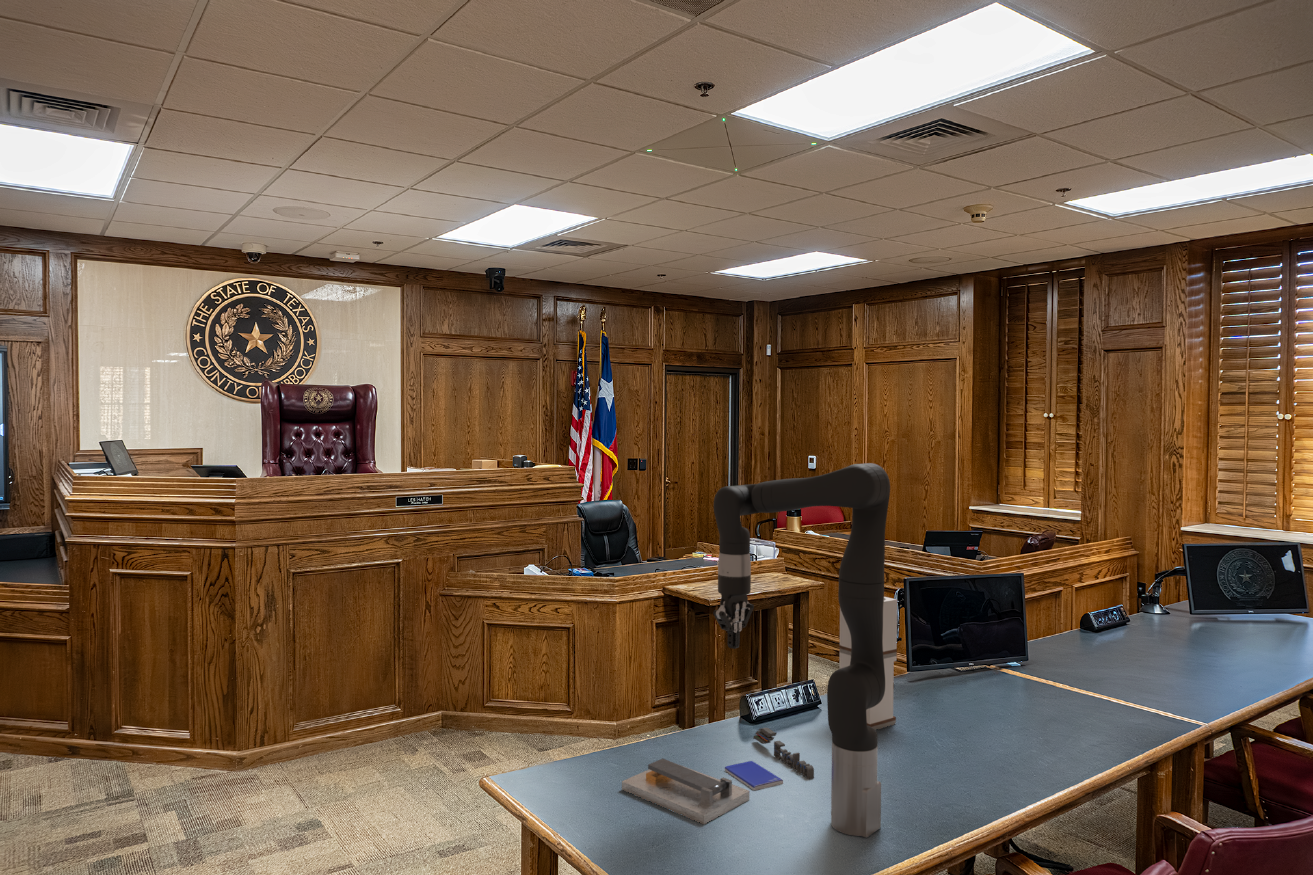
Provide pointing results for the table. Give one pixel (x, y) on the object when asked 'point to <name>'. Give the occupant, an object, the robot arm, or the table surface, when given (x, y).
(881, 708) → the tall open-top box
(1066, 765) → the table surface
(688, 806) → the mounting plate
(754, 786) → the hard drive
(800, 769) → the extruded letter logo
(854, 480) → the robot arm
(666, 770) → the flat pivoting pedal
